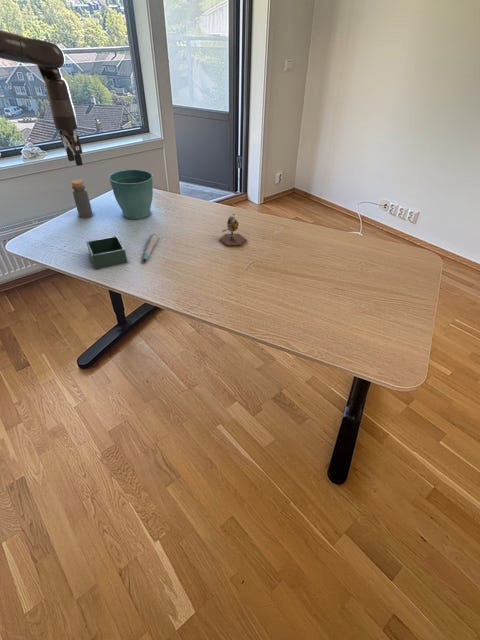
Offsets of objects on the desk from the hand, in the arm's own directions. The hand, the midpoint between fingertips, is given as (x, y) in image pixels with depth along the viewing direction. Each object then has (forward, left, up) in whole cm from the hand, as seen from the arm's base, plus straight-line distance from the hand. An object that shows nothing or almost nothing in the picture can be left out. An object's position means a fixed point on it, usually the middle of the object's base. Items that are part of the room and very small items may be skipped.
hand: (75, 163), depth 132 cm
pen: (+16, -32, -25) cm, 44 cm away
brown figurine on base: (+49, -38, -25) cm, 67 cm away
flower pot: (+20, +2, -25) cm, 32 cm away
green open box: (0, -32, -25) cm, 40 cm away
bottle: (-1, +9, -25) cm, 27 cm away
